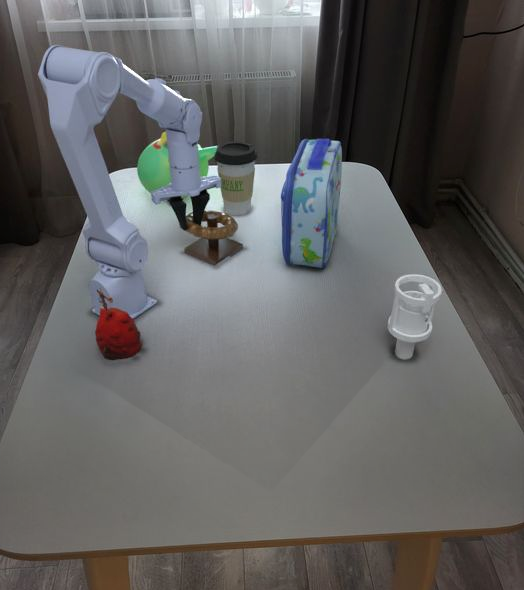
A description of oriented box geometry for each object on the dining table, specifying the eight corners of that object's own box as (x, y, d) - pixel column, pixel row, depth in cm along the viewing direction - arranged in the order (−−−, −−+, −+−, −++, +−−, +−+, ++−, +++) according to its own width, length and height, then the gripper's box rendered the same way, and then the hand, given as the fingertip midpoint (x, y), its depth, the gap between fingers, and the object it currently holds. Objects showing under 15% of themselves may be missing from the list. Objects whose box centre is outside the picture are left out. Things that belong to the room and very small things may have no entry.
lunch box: (295, 213, 133) (298, 125, 120) (339, 218, 132) (348, 128, 118) (275, 273, 114) (276, 175, 100) (327, 278, 113) (336, 180, 99)
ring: (228, 245, 114) (229, 234, 112) (174, 234, 115) (174, 223, 114) (243, 225, 123) (244, 215, 122) (193, 215, 125) (193, 205, 123)
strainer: (393, 370, 92) (409, 297, 82) (376, 344, 97) (388, 271, 87) (432, 363, 94) (451, 289, 84) (412, 337, 99) (429, 265, 89)
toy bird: (180, 174, 150) (174, 118, 141) (226, 192, 142) (223, 134, 133) (128, 197, 140) (118, 139, 130) (175, 218, 132) (168, 157, 122)
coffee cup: (211, 204, 137) (207, 144, 127) (247, 197, 140) (246, 137, 130) (226, 222, 130) (223, 159, 120) (264, 214, 133) (264, 152, 124)
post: (216, 266, 116) (214, 231, 111) (184, 253, 120) (181, 218, 115) (243, 248, 121) (242, 214, 116) (212, 236, 126) (209, 202, 120)
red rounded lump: (150, 344, 97) (137, 272, 87) (130, 371, 92) (114, 297, 82) (112, 335, 99) (96, 263, 89) (90, 360, 94) (70, 287, 84)
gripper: (157, 179, 102) (166, 244, 111) (227, 162, 108) (230, 225, 116) (143, 166, 106) (152, 229, 115) (210, 150, 112) (214, 212, 121)
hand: (190, 226), depth 116 cm, fingers closed on ring, 3 cm apart
